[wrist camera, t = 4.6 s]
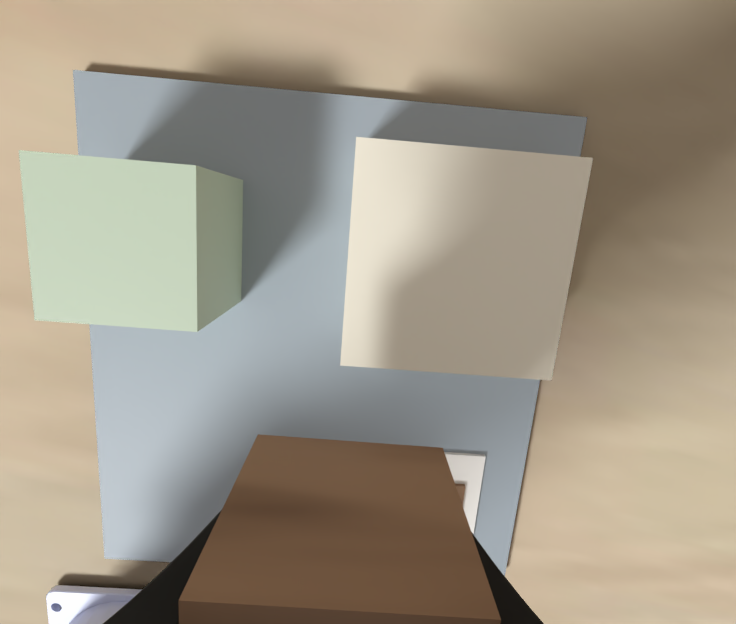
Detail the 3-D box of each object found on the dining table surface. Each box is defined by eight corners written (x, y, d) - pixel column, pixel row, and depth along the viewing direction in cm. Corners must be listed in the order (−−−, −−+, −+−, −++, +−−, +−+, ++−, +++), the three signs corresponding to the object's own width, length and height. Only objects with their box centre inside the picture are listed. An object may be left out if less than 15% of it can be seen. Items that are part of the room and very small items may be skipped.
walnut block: (421, 598, 13) (458, 840, 8) (253, 588, 12) (182, 828, 8) (442, 447, 11) (501, 620, 7) (257, 434, 11) (179, 600, 6)
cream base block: (522, 355, 19) (551, 380, 16) (343, 342, 19) (340, 365, 16) (553, 167, 17) (593, 157, 14) (356, 150, 17) (356, 136, 14)
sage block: (241, 301, 18) (197, 332, 13) (123, 292, 18) (34, 320, 13) (243, 180, 17) (195, 165, 12) (117, 169, 17) (18, 150, 12)
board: (500, 572, 22) (506, 587, 21) (110, 550, 21) (99, 565, 21) (580, 119, 17) (592, 114, 16) (81, 74, 17) (65, 66, 16)
